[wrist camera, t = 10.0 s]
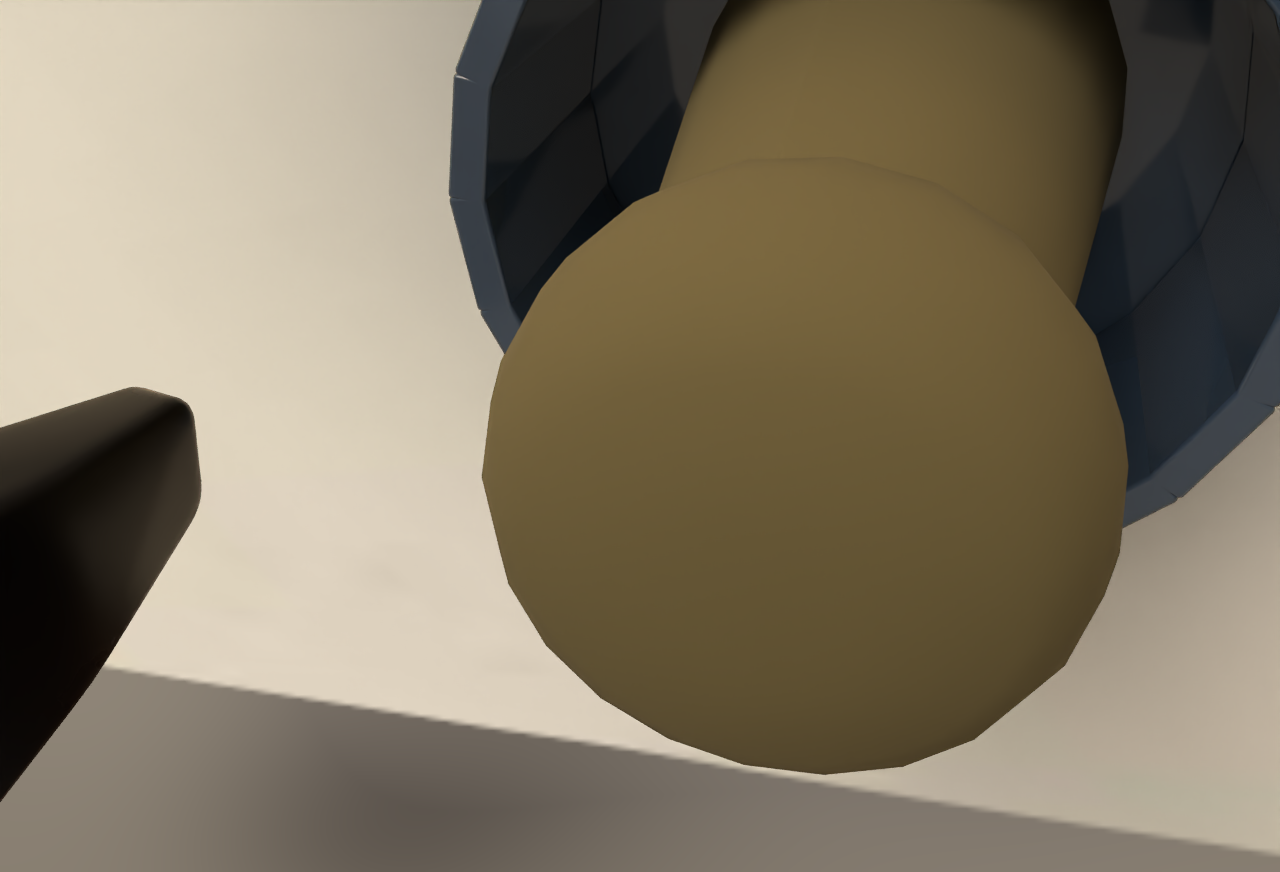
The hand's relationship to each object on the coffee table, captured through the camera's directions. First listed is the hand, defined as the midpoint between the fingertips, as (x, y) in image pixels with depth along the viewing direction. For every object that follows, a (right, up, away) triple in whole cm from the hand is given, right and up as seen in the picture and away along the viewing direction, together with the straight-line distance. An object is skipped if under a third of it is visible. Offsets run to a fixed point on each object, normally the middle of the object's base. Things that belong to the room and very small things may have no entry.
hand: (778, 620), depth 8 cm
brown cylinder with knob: (+3, +6, +9) cm, 12 cm away
